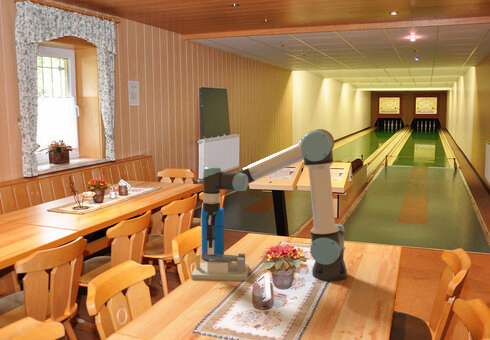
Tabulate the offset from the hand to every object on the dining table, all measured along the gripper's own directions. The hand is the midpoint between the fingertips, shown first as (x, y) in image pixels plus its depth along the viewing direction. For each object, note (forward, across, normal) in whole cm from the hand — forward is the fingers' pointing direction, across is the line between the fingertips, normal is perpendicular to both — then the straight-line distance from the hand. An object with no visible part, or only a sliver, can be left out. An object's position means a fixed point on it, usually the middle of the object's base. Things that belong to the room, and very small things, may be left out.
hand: (210, 254), depth 215 cm
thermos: (+9, -20, -1) cm, 22 cm away
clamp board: (+9, 0, +5) cm, 10 cm away
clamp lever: (+2, 0, +5) cm, 6 cm away
